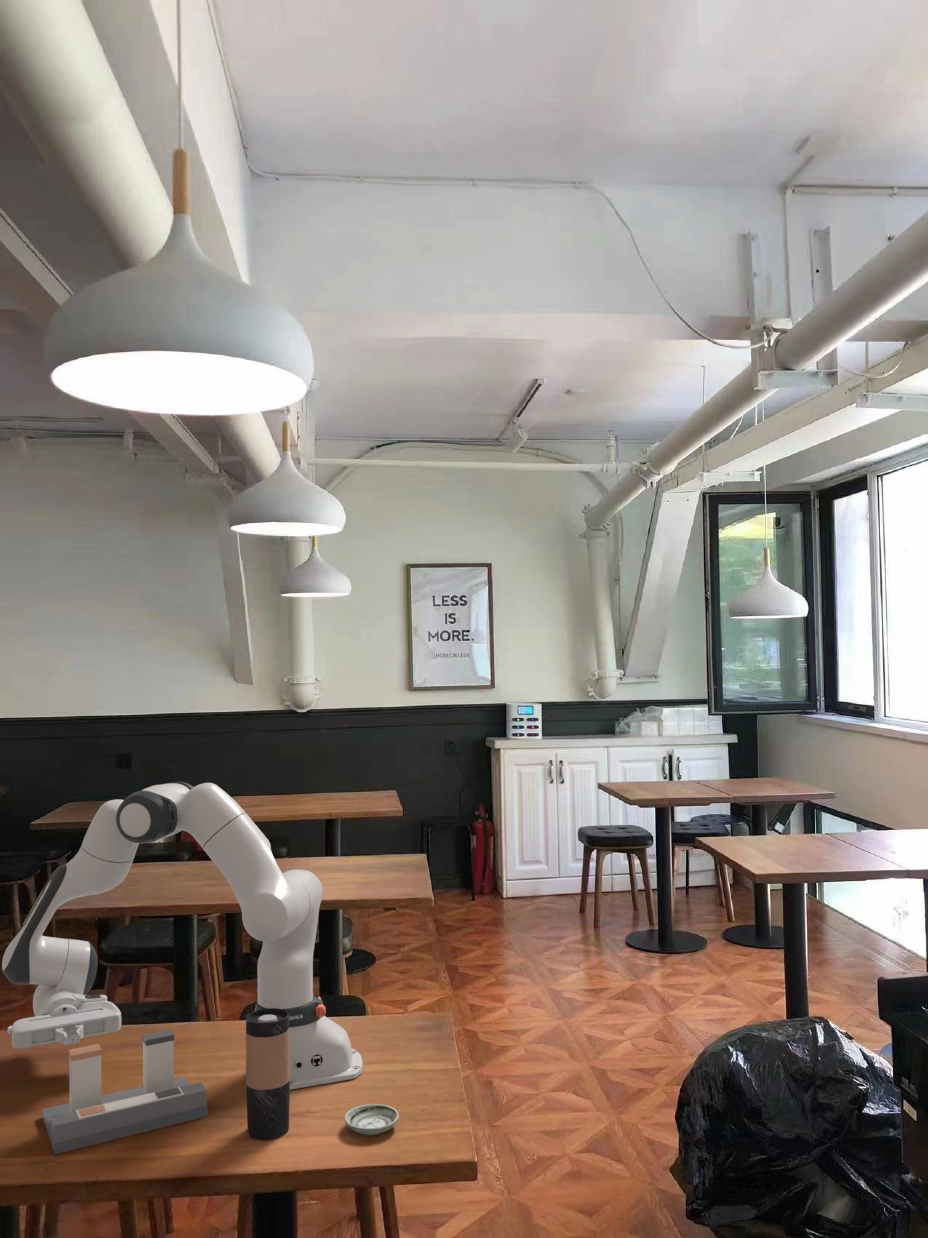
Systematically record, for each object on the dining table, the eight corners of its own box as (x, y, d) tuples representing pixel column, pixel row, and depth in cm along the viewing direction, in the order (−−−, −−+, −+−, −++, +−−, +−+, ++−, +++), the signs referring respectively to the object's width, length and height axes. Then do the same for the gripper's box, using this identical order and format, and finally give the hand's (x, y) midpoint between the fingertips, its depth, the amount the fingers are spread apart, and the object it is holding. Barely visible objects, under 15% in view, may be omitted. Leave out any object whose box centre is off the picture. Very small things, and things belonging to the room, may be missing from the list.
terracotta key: (68, 1111, 178) (68, 1049, 179) (98, 1104, 181) (98, 1043, 181) (71, 1118, 176) (71, 1055, 176) (102, 1111, 178) (101, 1049, 179)
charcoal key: (142, 1094, 185) (142, 1035, 185) (170, 1088, 188) (170, 1029, 188) (146, 1101, 182) (146, 1040, 183) (174, 1094, 185) (174, 1034, 185)
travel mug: (299, 1125, 175) (297, 1011, 176) (273, 1144, 168) (272, 1025, 169) (263, 1117, 179) (262, 1005, 179) (237, 1136, 172) (236, 1019, 173)
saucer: (377, 1148, 167) (377, 1133, 167) (333, 1134, 172) (332, 1120, 172) (410, 1124, 175) (409, 1111, 175) (367, 1112, 180) (366, 1098, 180)
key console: (185, 1084, 193) (185, 1059, 193) (207, 1116, 179) (207, 1089, 180) (42, 1117, 180) (42, 1090, 180) (54, 1154, 166) (54, 1125, 167)
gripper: (6, 1010, 196) (13, 1033, 184) (113, 993, 206) (127, 1013, 194) (6, 1042, 196) (13, 1067, 184) (113, 1023, 206) (126, 1046, 194)
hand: (72, 1039), depth 189 cm, fingers closed
